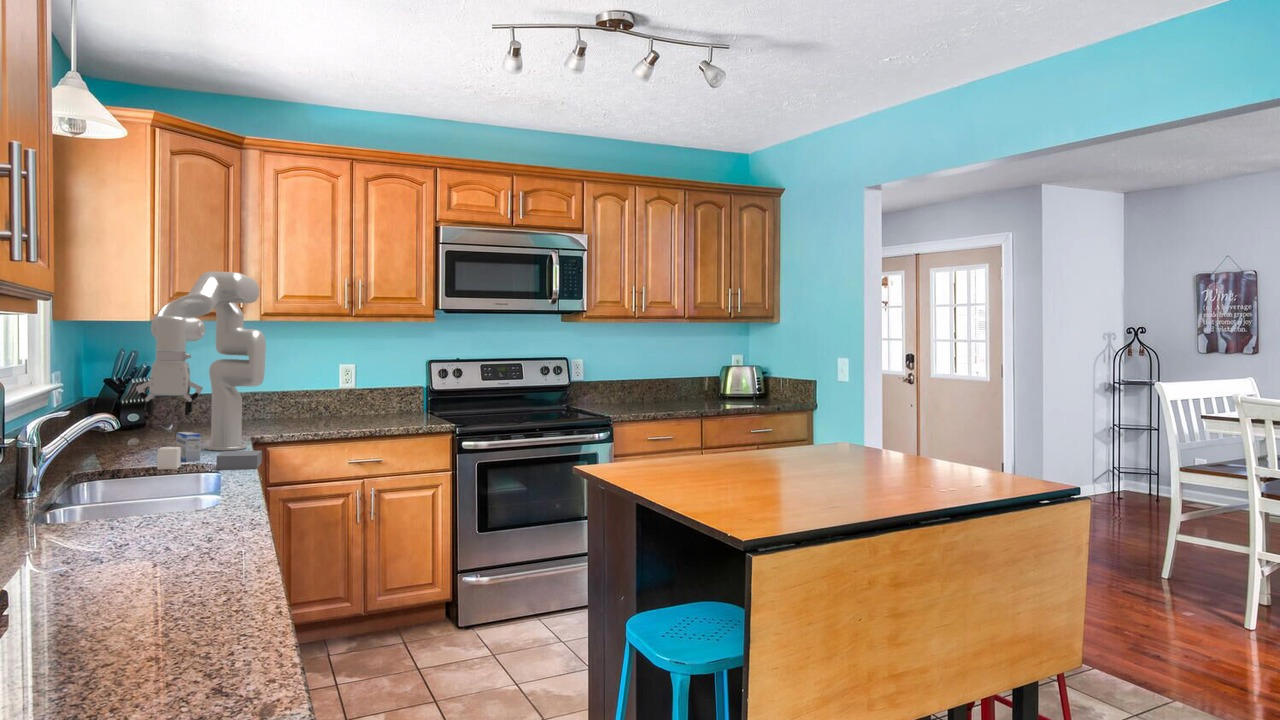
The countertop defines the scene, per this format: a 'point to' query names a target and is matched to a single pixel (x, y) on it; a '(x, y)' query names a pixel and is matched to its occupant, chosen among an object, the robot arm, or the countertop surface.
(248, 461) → the plinth
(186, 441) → the medicine box
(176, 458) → the cube
